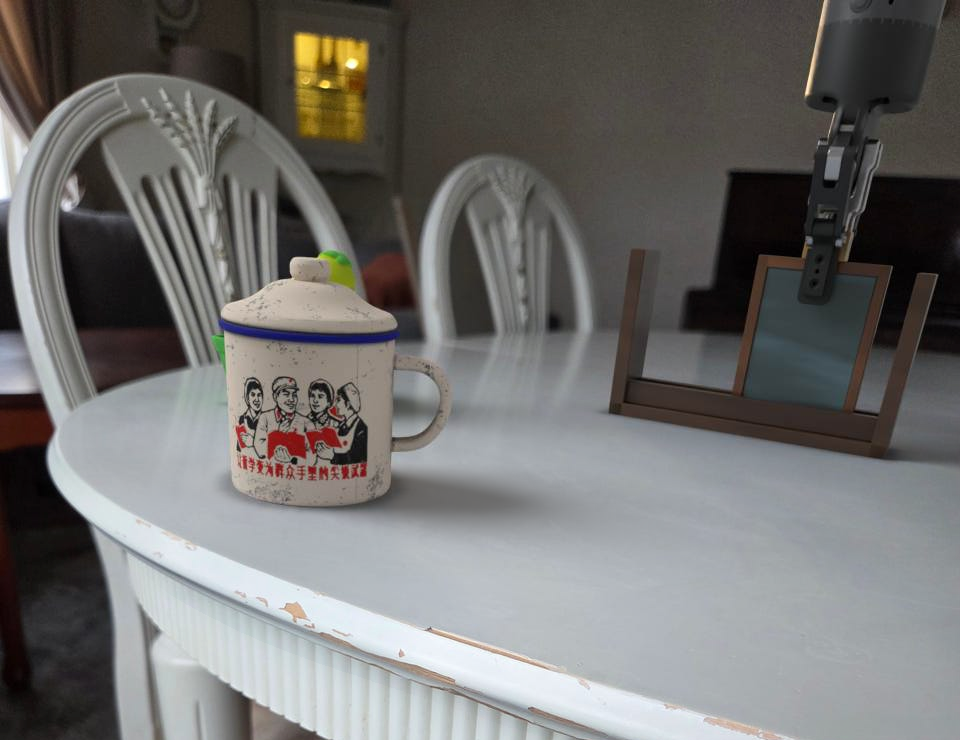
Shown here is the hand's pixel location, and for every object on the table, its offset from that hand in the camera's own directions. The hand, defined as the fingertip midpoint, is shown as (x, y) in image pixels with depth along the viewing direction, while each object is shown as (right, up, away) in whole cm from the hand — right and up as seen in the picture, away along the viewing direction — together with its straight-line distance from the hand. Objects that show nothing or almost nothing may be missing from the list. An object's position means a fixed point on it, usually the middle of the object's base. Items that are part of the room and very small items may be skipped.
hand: (814, 302), depth 64 cm
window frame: (-4, -8, +6) cm, 11 cm away
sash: (-1, -8, +4) cm, 9 cm away
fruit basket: (-39, -7, +3) cm, 40 cm away
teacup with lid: (-33, -17, -17) cm, 41 cm away
